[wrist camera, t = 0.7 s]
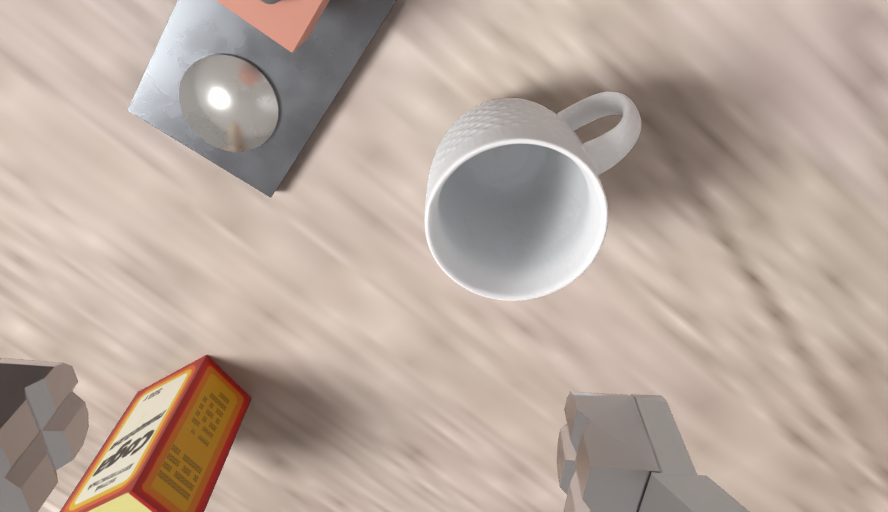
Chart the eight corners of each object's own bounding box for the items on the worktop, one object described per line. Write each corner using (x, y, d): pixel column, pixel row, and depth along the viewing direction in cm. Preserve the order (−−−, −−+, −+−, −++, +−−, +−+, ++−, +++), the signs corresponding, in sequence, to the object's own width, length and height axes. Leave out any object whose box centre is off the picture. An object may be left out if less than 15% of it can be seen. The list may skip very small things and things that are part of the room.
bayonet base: (268, -183, 38) (229, -197, 31) (430, -53, 41) (424, -43, 35) (134, 105, 47) (84, 138, 41) (275, 191, 50) (248, 233, 44)
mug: (578, 12, 43) (618, 57, 31) (647, 139, 47) (704, 217, 36) (404, 128, 47) (385, 203, 36) (482, 233, 52) (486, 329, 41)
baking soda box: (183, 432, 65) (107, 578, 51) (137, 392, 62) (44, 535, 48) (251, 398, 62) (191, 542, 48) (206, 354, 59) (128, 495, 46)
